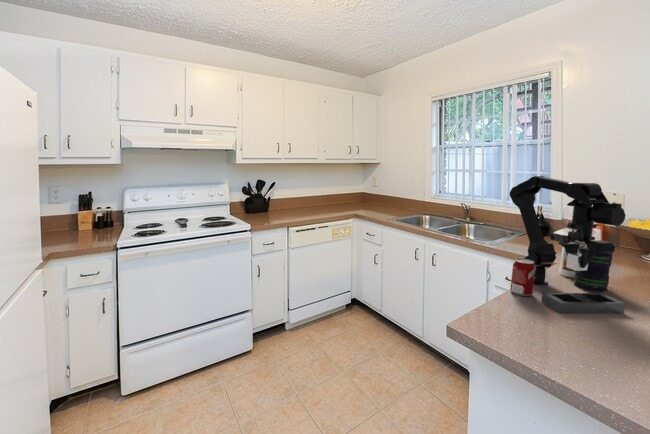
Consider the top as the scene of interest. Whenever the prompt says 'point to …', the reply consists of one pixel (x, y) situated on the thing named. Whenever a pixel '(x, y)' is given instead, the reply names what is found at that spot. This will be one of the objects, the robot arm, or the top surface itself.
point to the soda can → (523, 277)
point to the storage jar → (595, 273)
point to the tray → (582, 303)
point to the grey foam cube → (575, 262)
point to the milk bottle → (563, 268)
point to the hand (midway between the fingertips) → (576, 265)
